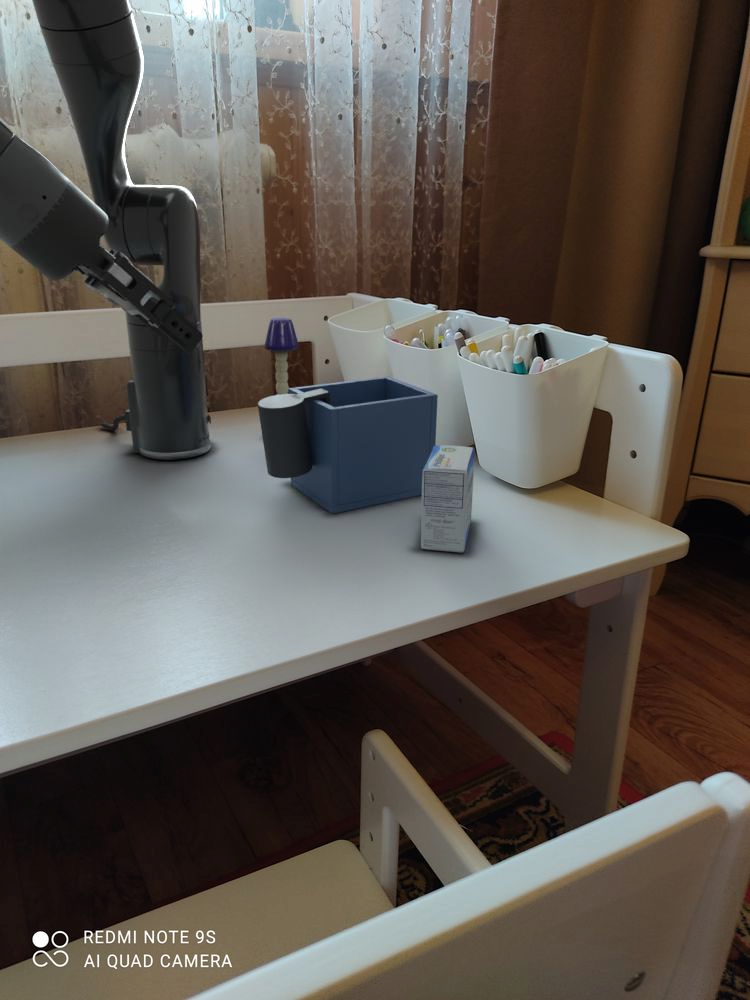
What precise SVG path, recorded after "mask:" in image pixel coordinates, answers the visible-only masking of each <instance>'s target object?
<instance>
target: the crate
mask: <svg viewBox="0 0 750 1000" xmlns="http://www.w3.org/2000/svg"><path fill="white" fill-rule="evenodd" d="M288 388H289V389H288V392H287V393H288V394H300V393H304V392H308V391H312V390H316V389H324V390H326V391H328V392H329V393H330V403H331V405H329V404H326V403H324V402H322V401H320V400H319V399H317V400H313V401H309V402H305V410H306V418H307V426H308V434H309V443H310V451H311V459H312V469H311V471H309V472H308V473H306V474H304V475H301V476H298V477H293V478H290V485H291V486H293V487H294V488H296V489H297V490H298V491H299V492H301V493H303V494H304V495H305V496H306V497H308V498H309V499H311V500H312V501H314V502H315V503H316V504H318V505H319V506H320V507H322V508H323V509H324V510H326V511H327V512H328V513H330V514H331V515H335V514H338V513H342V512H343V513H344V512H347V511H352V510H356V509H361V508H366V507H370V506H371V507H372V506H376V505H379V504H380V505H381V504H385V503H390V502H394V501H399V500H404V499H408V498H412V497H417V496H422V475H423V469H424V468H425V466H426V464H427V461H428V459H429V457H430V455H431V453H432V450H433V448H434V446H436V443H437V442H436V441H437V422H438V421H437V420H438V416H437V415H438V400H439V399H438V397H439V396H438V394H437V393H434V392H431V391H429V390H426V389H423V388H421V387H417V386H415V385H413V384H411V383H407V382H404V381H402V380H399V379H397V378H394V377H391V376H388V375H386V376H379V377H371V378H363V379H354V380H346V381H345V380H344V381H338V382H330V383H320V384H313V385H304V386H297V387H288Z"/></svg>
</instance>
